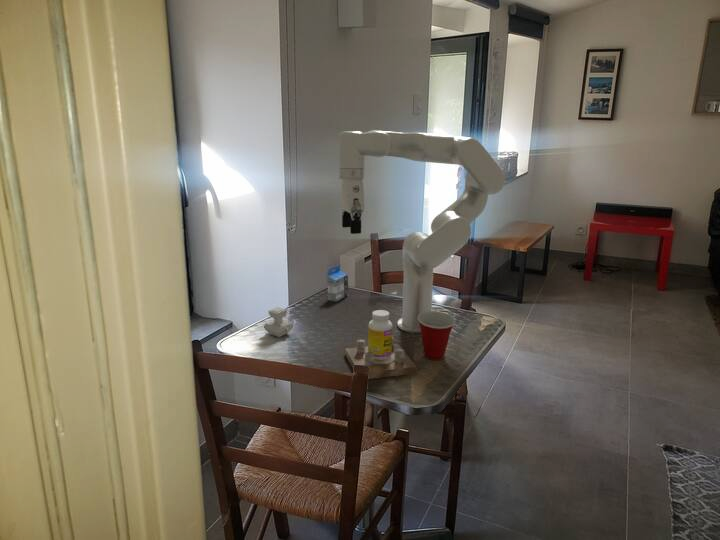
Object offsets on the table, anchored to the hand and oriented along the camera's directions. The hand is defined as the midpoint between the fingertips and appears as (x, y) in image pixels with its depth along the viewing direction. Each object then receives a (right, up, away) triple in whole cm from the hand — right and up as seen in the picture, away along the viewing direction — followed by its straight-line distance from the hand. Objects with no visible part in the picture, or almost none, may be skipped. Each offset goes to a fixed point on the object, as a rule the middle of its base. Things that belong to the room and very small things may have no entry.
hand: (351, 230), depth 165 cm
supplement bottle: (+8, -37, -14) cm, 40 cm away
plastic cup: (+24, -37, -9) cm, 46 cm away
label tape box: (-6, -23, +41) cm, 47 cm away
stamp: (-23, -33, +6) cm, 41 cm away
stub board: (+8, -39, -14) cm, 42 cm away
